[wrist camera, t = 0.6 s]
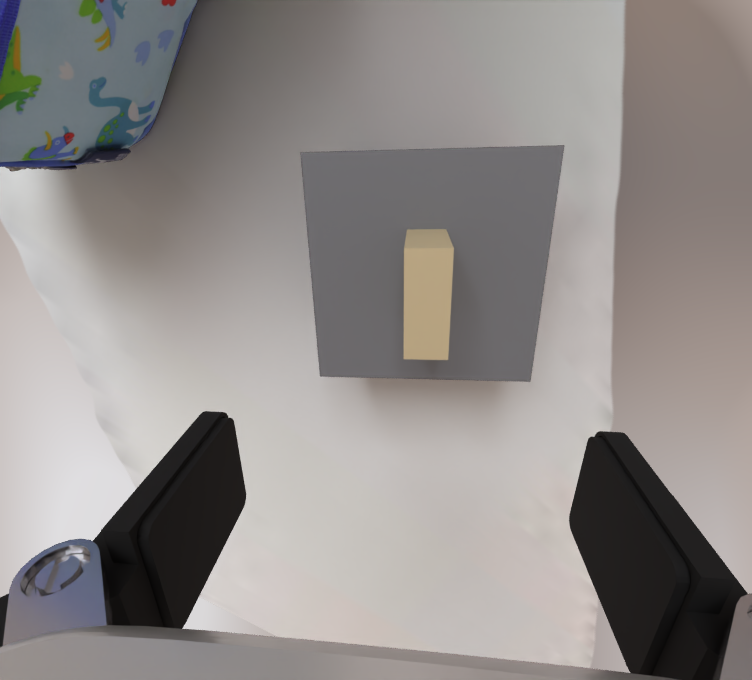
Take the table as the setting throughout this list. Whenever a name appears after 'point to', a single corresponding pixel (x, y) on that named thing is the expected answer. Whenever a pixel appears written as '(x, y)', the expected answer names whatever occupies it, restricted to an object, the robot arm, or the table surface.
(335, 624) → the table surface
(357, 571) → the table surface
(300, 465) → the table surface
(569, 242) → the table surface
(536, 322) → the lid
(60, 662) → the robot arm
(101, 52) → the lunch box
